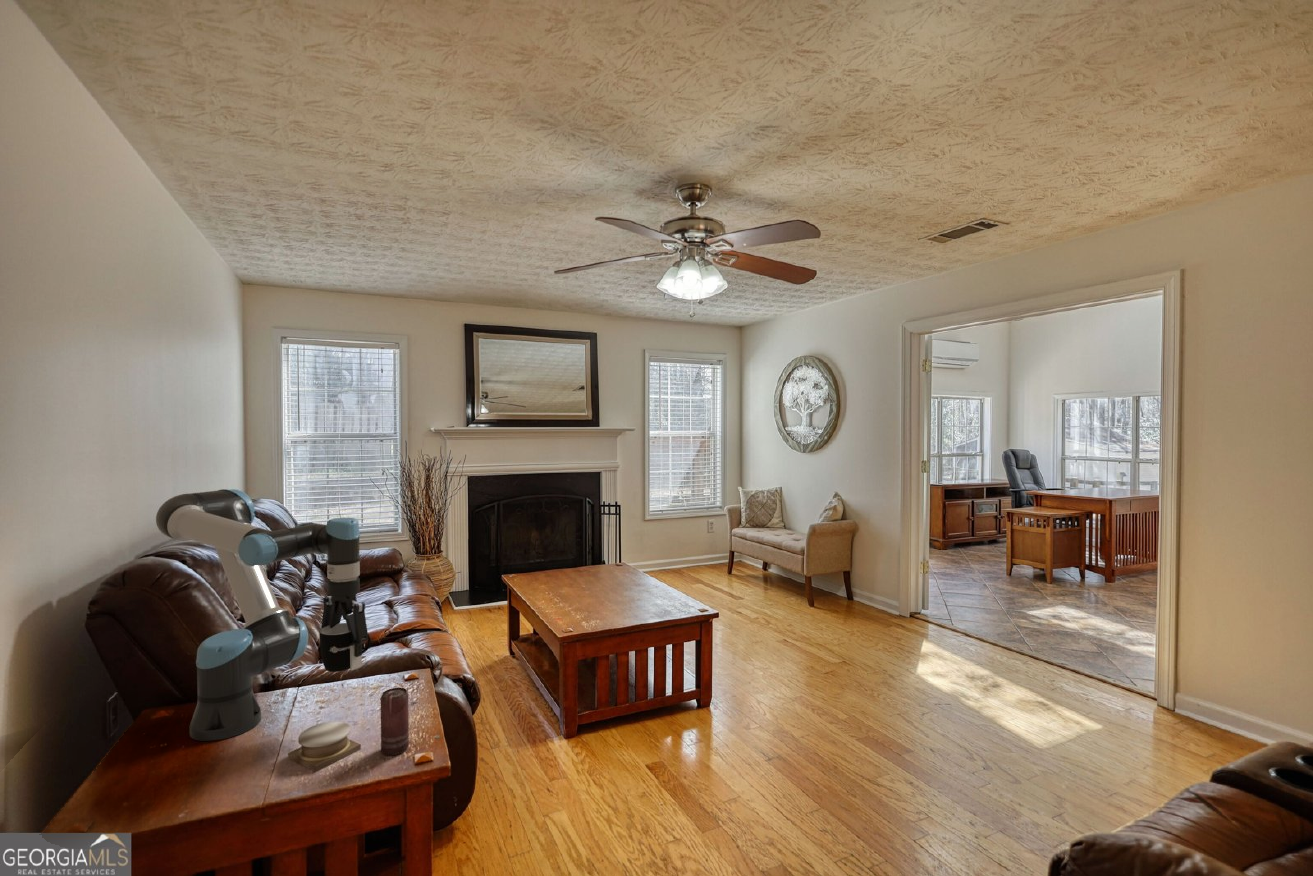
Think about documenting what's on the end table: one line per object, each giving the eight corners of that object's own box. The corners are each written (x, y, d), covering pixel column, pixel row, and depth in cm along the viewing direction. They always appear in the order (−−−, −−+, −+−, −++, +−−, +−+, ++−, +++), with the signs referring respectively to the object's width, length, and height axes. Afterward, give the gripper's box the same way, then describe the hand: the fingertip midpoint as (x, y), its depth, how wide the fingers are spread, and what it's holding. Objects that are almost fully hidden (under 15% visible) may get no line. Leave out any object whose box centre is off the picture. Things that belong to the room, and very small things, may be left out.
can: (379, 758, 146) (378, 699, 145) (383, 744, 152) (382, 688, 151) (406, 755, 147) (406, 696, 147) (410, 741, 153) (409, 685, 153)
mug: (323, 677, 155) (323, 637, 154) (317, 665, 162) (316, 627, 161) (375, 666, 162) (374, 627, 162) (366, 655, 169) (366, 618, 169)
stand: (288, 758, 146) (287, 737, 146) (332, 737, 155) (332, 717, 155) (316, 771, 140) (315, 749, 140) (360, 749, 150) (360, 728, 150)
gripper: (304, 576, 163) (305, 661, 164) (356, 587, 153) (357, 678, 154) (331, 570, 170) (332, 651, 171) (383, 580, 159) (384, 667, 160)
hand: (344, 664), depth 162 cm, fingers closed on mug, 9 cm apart
